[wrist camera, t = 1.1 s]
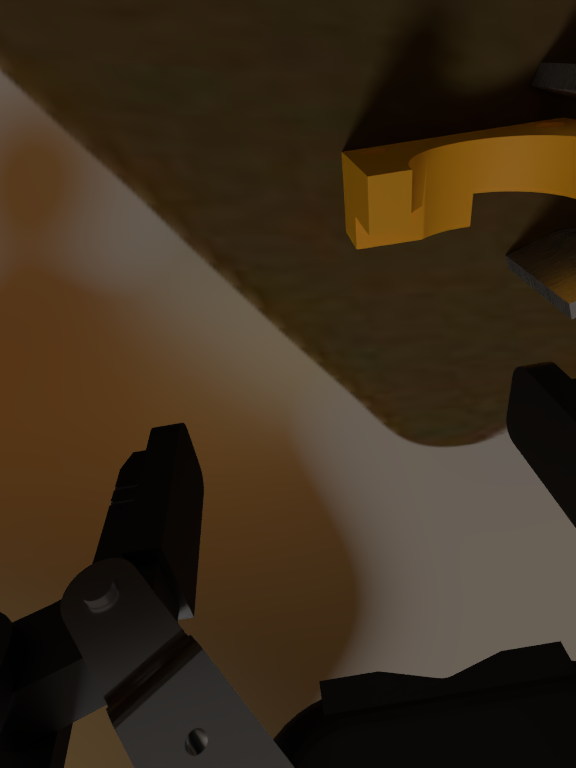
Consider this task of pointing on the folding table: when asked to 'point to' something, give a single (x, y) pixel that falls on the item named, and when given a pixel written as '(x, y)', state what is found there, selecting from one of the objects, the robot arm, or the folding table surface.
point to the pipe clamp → (451, 178)
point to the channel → (563, 247)
